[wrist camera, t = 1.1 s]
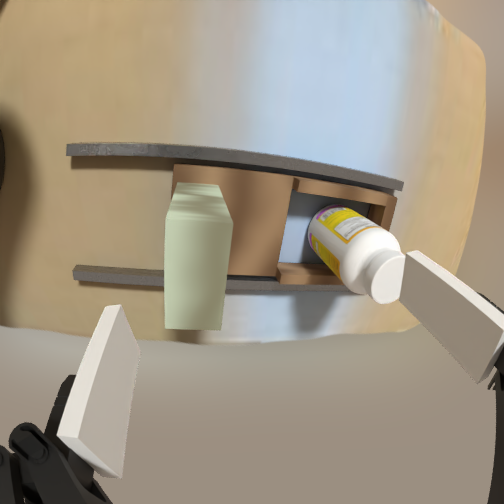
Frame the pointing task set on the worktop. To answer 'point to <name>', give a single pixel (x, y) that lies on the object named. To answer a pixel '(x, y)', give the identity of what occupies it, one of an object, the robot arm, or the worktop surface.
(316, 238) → the supplement bottle
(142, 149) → the lane rails
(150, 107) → the worktop surface
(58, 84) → the worktop surface
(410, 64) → the worktop surface
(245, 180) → the wooden holder tray
